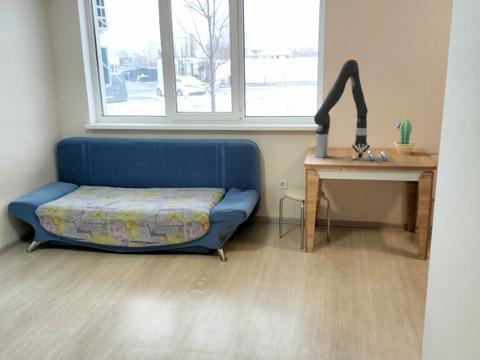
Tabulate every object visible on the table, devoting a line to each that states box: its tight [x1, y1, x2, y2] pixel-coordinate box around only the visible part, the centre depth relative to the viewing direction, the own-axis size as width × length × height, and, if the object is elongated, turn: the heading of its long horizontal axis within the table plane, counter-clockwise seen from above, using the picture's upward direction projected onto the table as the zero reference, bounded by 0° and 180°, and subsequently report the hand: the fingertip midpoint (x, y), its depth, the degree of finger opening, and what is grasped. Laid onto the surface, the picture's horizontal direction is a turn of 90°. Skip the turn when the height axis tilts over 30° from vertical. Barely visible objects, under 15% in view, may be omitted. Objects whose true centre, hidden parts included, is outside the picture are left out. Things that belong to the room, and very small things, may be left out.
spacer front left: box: [369, 152, 375, 162], centre depth 314 cm, size 3×3×5 cm
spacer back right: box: [380, 150, 387, 159], centre depth 321 cm, size 3×3×5 cm
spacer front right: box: [382, 152, 389, 162], centre depth 313 cm, size 3×3×5 cm
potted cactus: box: [393, 119, 416, 155], centre depth 334 cm, size 15×15×25 cm
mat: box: [349, 156, 388, 162], centre depth 319 cm, size 25×12×1 cm, turn 81°
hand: (360, 157), depth 320 cm, fingers closed
